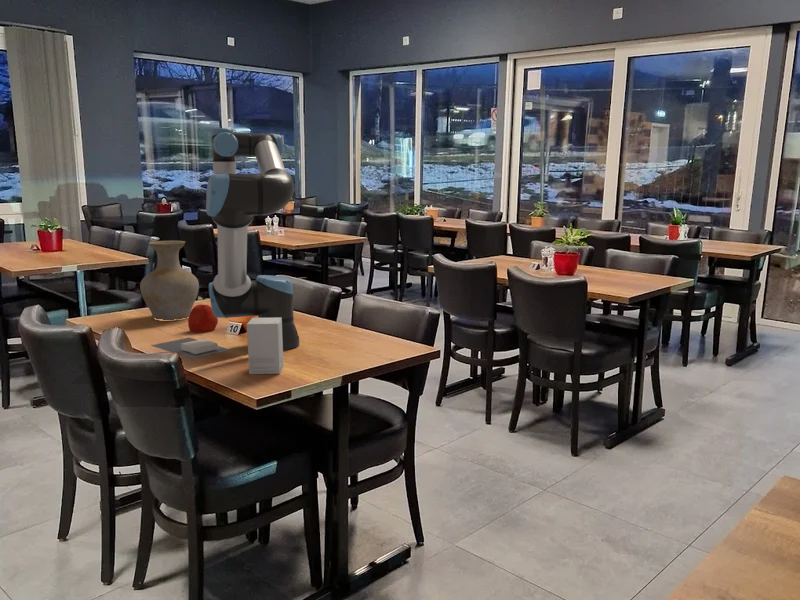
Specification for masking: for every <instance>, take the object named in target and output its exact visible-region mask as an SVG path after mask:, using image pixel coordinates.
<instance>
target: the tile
mask: <svg viewBox="0 0 800 600" xmlns="http://www.w3.org/2000/svg"><path fill="white" fill-rule="evenodd" d="M218 346H219V345H218V342H216V341H212V340H207V339H204V338H202V339H196V341H191V342H186V343H182V344H181V350H184V351H187V352H190V353H193V354H199V353H203V352H207V351H212V350H216V349H218Z"/></svg>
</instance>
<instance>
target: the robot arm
mask: <svg viewBox="0 0 800 600" xmlns="http://www.w3.org/2000/svg"><path fill="white" fill-rule="evenodd" d="M210 138H211V148H212V149H211V150H212V171H213V172H212V173H213V174H212V175H210V177H208V180H207V185H206V200H205V210H206V215H207V216H208V217H211V219H212V220H213V222H214V223H215V224H216V228H217V229H216V230H217V237H216V238H217V271H218V272H217V274H216V275H215V276H214V279H213V281H212V282H209V283H208V294H209V301H210V307H211V308H212V312H213V314H214V316H215V317H217V318H221V319H222V318H223V319H229V318H242V317H243V318H245V317H257V318H280V317H281V318H282V340H283V351H287V350H291V349H295V348H297V347H299V346H300V336H299V334H298V330H297V328H296V325H295V322H294V319H295V318H294V317H295V316H294V289H293V287H294V286H293V282H292V281H291V279H289V278H287V277H283V276H279V275H278V276H277V275H269V274H268V275H267V274H262V275H261V274H260V275H257V276H256V278H255V280H251V278H250V277H249V275H248V274H247V267H248V266H247V262H248V261H247V260H248V259H247V258H248V226H249V225H250V224H251V223H252V222H253V219H254V216H269V215H272V214H275V213H278V212H279V211H281V210H282V209H285V207H286V206H287V205H288V204H289V202H290V201H291V199H292V197H293V195H294V191H295V184H294V180H293V177H292V176H291V174H290V172H289V171H287V170H286V168H285V165H284V163H283V159H282V155H283V149H284V148H283V145H284V144H283V137H282V135H280V134H278V133H248V132H247V133H245V132H244V133H242V132H235V130H234V129H233V128H229V127H228V128H227V127H215V128H212V129H211V137H210ZM236 157H238V158H239V157H240V158H241V157H243V158H244V157H245V158H246V157H248V158H249V157H250V158H255V159H256V161H257V165H258V169H259V173H237V172H236V168H237V167H236Z"/></svg>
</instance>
